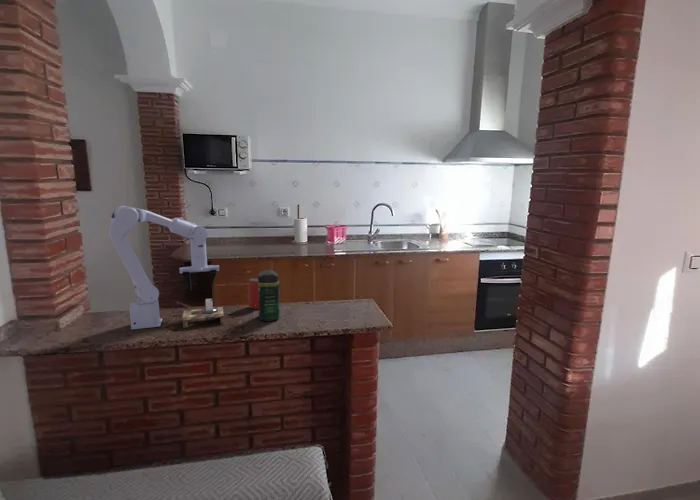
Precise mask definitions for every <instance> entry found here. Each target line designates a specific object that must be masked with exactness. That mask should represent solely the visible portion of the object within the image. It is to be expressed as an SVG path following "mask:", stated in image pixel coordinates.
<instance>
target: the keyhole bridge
mask: <svg viewBox="0 0 700 500" xmlns="http://www.w3.org/2000/svg"><path fill="white" fill-rule="evenodd" d="M217 308H218V312H216V313H212V314H203V313H201V309H202V308H199V309H198V308H197V309H189V310H188V309H187V310H183V314H182V328H183V329H187V328H188V322H189V320H197V319H205V318H208V317H215V318H217V317H219V321H220V322H219V323H220V324H221V325H224V324H225V318H224V317H225V316H224V307H223V306H220V307H219V306H218V307H217Z"/></svg>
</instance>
